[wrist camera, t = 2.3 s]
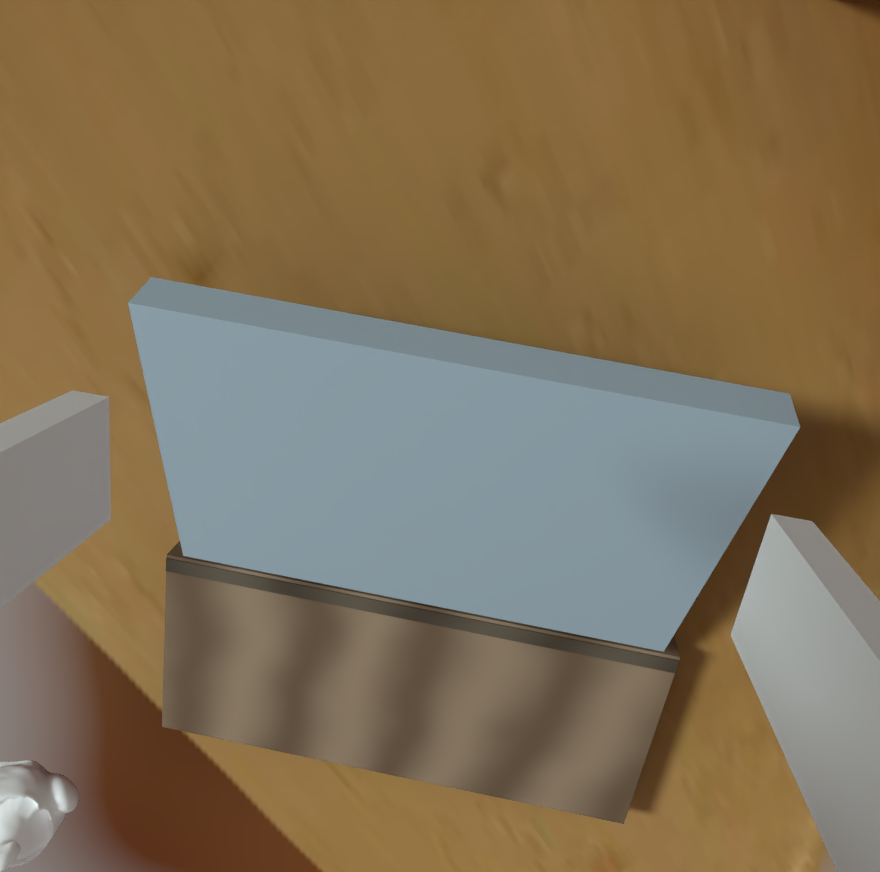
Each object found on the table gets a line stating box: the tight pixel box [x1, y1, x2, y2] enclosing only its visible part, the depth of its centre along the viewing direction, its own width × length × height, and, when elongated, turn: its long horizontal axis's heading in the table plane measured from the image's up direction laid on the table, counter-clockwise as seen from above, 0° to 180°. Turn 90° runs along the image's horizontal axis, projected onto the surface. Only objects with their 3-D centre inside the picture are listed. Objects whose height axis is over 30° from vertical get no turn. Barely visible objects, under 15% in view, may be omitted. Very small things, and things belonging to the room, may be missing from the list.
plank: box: [128, 277, 800, 652], centre depth 34 cm, size 26×16×2 cm, turn 81°
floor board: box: [162, 541, 680, 824], centre depth 42 cm, size 28×12×2 cm, turn 81°
